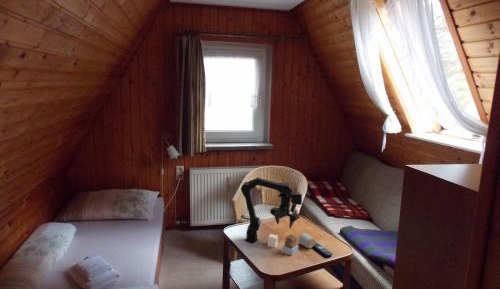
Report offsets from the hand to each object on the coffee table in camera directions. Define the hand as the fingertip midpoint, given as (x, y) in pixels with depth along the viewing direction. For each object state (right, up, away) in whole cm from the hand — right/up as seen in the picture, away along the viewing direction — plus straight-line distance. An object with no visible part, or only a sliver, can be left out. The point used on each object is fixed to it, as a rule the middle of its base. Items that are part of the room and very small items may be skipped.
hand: (283, 226), depth 214 cm
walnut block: (+3, -10, -8) cm, 13 cm away
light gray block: (+3, -14, -8) cm, 16 cm away
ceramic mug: (+15, -13, +1) cm, 20 cm away
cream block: (-7, -12, 0) cm, 14 cm away
